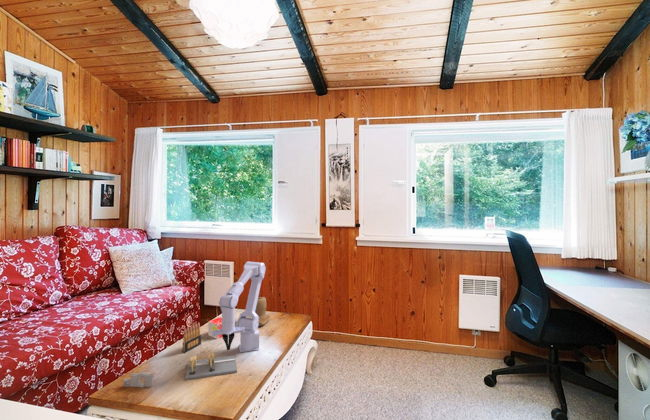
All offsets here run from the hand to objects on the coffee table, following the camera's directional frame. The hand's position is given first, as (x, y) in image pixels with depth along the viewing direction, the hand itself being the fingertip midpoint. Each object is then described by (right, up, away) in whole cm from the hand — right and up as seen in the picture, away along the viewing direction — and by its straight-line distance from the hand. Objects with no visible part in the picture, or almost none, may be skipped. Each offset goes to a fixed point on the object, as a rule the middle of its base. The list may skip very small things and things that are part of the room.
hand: (228, 349), depth 148 cm
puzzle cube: (-15, -6, +31) cm, 35 cm away
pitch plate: (-6, -7, -4) cm, 10 cm away
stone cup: (+4, -5, +50) cm, 51 cm away
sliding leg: (-6, -5, -4) cm, 9 cm away
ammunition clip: (-23, -6, +15) cm, 28 cm away
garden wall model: (-31, -7, -19) cm, 37 cm away
